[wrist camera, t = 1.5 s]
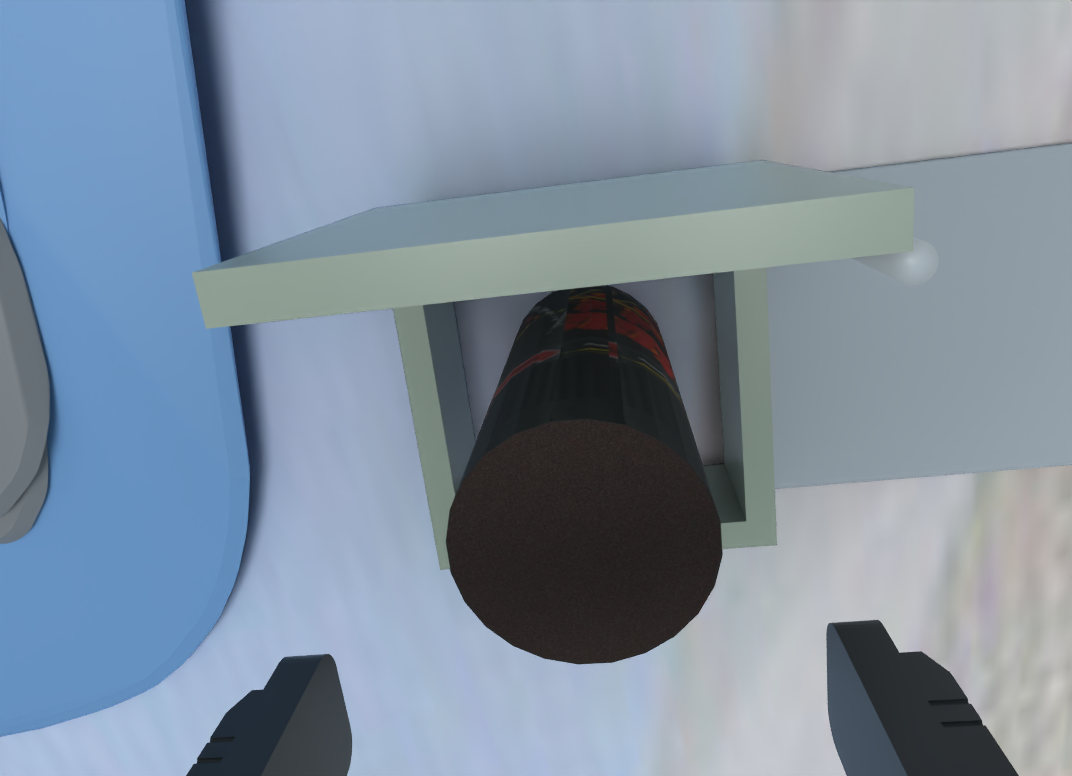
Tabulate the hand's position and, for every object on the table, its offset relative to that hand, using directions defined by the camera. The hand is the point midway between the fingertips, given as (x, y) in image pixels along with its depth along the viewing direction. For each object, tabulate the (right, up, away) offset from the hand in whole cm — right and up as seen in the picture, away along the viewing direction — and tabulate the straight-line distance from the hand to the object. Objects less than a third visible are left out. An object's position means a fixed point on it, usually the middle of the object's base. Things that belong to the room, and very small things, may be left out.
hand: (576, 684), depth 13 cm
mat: (+14, +7, +17) cm, 23 cm away
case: (+1, +6, +18) cm, 20 cm away
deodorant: (+1, +6, +19) cm, 20 cm away
